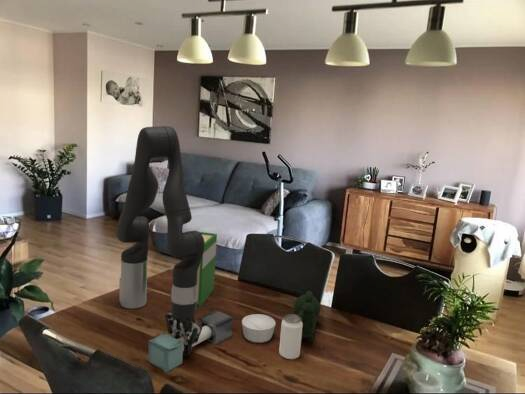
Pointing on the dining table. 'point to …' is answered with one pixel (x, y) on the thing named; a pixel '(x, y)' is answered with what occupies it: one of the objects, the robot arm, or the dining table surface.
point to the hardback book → (206, 268)
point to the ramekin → (258, 327)
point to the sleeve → (217, 325)
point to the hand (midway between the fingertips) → (181, 351)
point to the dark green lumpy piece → (307, 314)
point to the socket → (165, 352)
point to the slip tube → (201, 335)
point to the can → (290, 336)
